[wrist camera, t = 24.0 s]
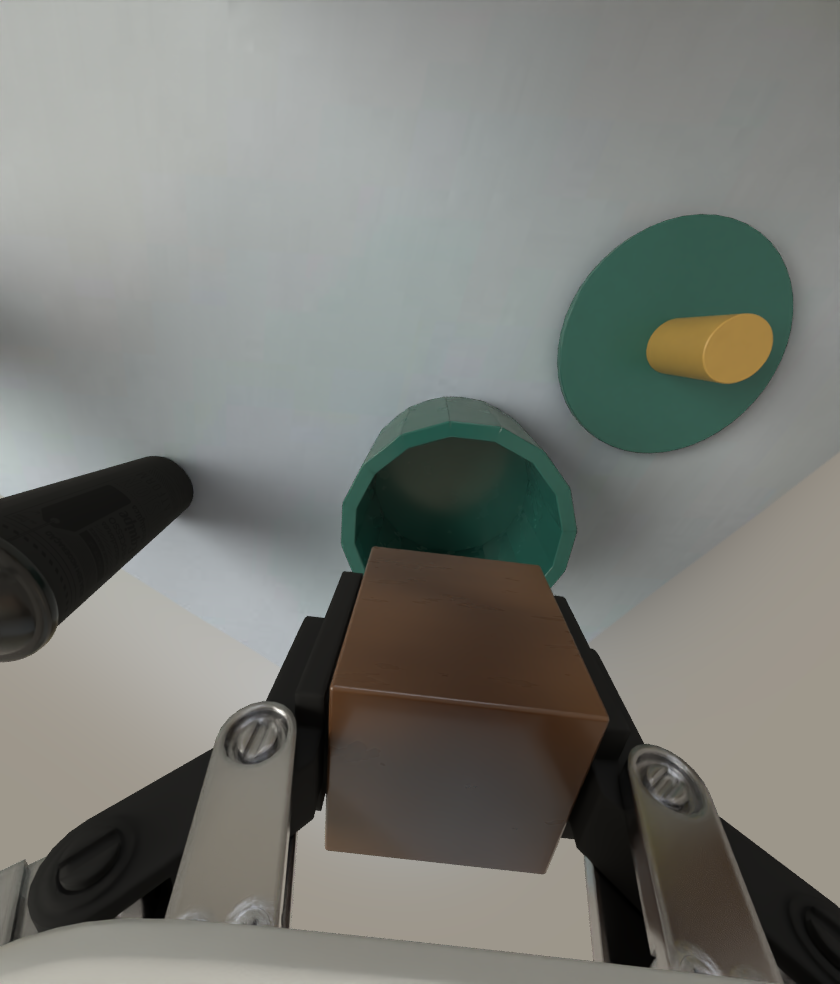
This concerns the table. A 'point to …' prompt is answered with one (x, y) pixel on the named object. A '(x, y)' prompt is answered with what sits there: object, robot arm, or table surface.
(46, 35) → the table surface
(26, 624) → the drinking cup
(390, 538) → the tin
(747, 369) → the tin lid
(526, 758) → the block
